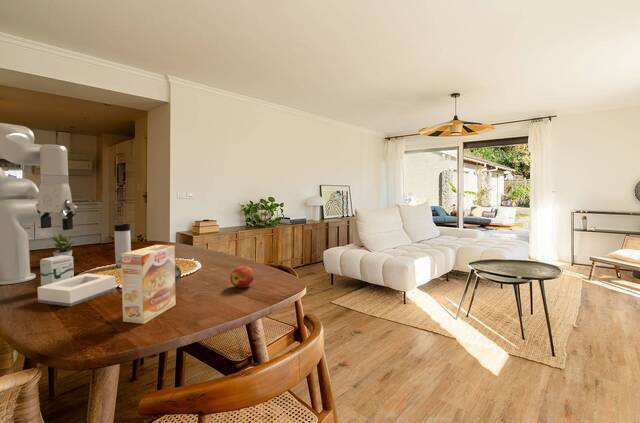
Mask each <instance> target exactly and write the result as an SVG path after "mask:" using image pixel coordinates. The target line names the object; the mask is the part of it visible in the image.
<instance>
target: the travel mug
mask: <svg viewBox="0 0 640 423" xmlns="http://www.w3.org/2000/svg"><path fill="white" fill-rule="evenodd" d="M113 226H114V228H113V229H114V230H113V231H114V252H115V253H114V255H115V256H114V257H115V267H116V268H121V254H123V253H127V252H131V251H132V247H131V246H132V244H131V242H132V241H131V229H130V228H131V225H130V223H123V224H115V225H113Z"/></svg>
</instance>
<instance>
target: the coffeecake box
mask: <svg viewBox="0 0 640 423" xmlns="http://www.w3.org/2000/svg"><path fill="white" fill-rule="evenodd" d="M175 247H176V246H175V245H171V244H154V245H151V246H147V247H144V248H139V249H135V250H131V252H127V253H123V254H121V267H120V269H121V296H122V297H121V298H122V303H121V304H122V322H125V323H133V324H143V325H145V324H146V323H148V322H149V321H151V320H153V319H154V318H156V317H158V316H159V315H161V314H163V313H165V312H166V311H167V310H169V309H171V308H172V307H174V306H176V305H177V304H176V302H177V300H176V283H175V264H176V261H175V260H176V257H175V256H176V254H175V252H176V251H175V249H176V248H175Z"/></svg>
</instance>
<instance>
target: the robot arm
mask: <svg viewBox="0 0 640 423" xmlns="http://www.w3.org/2000/svg"><path fill="white" fill-rule="evenodd" d="M68 158H69V156H68V149H67V147H66V146H64V145H59V144H47V143H46V144H40V143H39V144H38V143H35V135H34V133H33V130H31V129H30V128H29V127H27V126H24V125H20V124H19V125H18V124H11V123H4V122H0V159H1V160H6V161H8V162H10V163H12V164H13V165H22V166H40V167H39V168H40V169H39V171H40V184H39V187H38V186H37V185H36V183H35V182H33V180H30V179H28V178H25V177H24V178H23V177H22V178H20V177H19V178H17V177H9V176H7V175H6V173H5V171H4V170H3V168H2V167H1V166H0V286H1V285H3V286H4V285H11V284H13V285H14V284H18V283H19V284H20V283H23V282H28V281H31V280H34V279H35V278H36V277H37V276H36V273H33V272H31V264H30V263H31V262H30V260H31V259H30V246H29V245H30V244H29V242H30V241H29V235H28V232H27V230H25V229H24V228H23V227H22V226H21V225H20V224H22V225H23V224H28V223H29V224H30V223H40V228H41V229H49V228H52V216H51V215H52V214H61V217H63V218H62V219H61V222H62V230H63V231H68V230H69V231H70V230H73V229H74V222H73V220H74V217H75V215H76V212H77V209H78V206H77V205H76V204H75V203H73V199H72V192H71V187H70V185H69V163H68V160H69V159H68Z"/></svg>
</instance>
